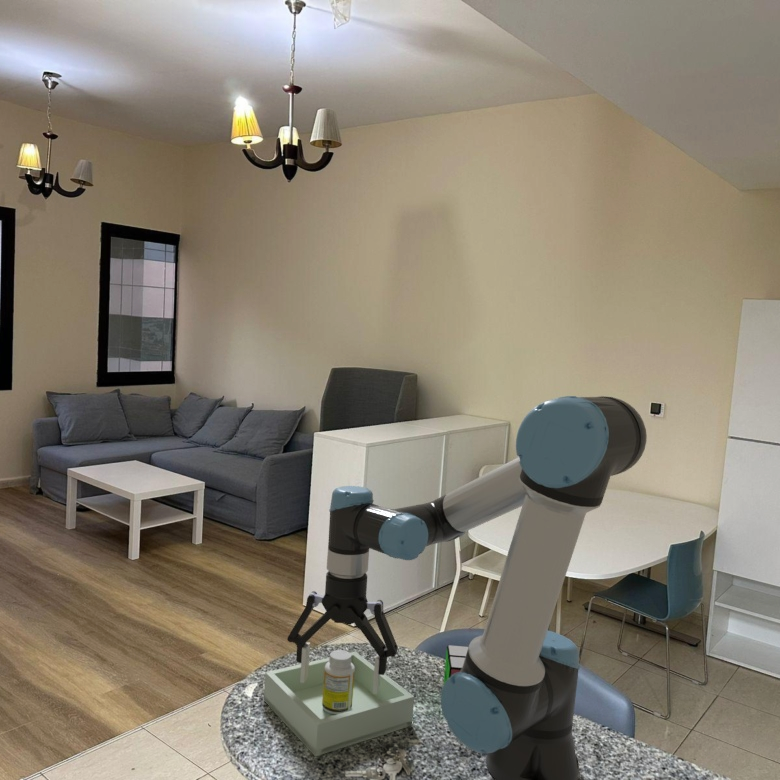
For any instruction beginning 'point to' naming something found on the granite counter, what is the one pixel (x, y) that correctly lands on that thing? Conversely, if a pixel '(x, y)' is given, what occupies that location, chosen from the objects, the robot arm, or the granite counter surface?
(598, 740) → the granite counter surface
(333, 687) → the supplement bottle
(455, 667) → the puzzle cube
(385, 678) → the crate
